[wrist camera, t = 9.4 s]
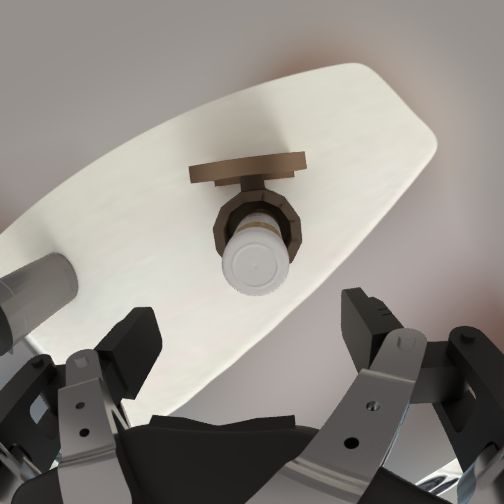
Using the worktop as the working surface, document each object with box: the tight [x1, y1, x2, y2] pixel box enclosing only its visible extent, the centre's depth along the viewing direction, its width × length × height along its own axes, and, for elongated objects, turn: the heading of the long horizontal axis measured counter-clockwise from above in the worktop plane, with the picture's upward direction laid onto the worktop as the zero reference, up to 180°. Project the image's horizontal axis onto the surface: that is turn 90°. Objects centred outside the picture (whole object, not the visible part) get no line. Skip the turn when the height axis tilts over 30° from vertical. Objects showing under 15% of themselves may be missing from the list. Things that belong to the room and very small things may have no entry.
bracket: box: [189, 151, 307, 264], centre depth 30 cm, size 10×12×12 cm
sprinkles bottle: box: [222, 209, 289, 296], centre depth 25 cm, size 5×5×14 cm
